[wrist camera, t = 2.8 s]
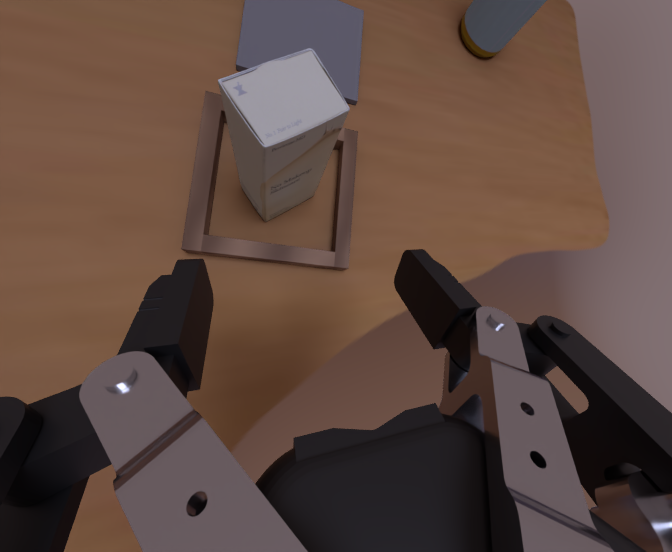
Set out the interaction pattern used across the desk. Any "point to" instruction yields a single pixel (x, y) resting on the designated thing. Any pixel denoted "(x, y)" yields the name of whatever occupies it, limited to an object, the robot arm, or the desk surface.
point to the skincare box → (282, 128)
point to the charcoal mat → (304, 37)
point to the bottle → (495, 23)
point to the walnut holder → (243, 249)
